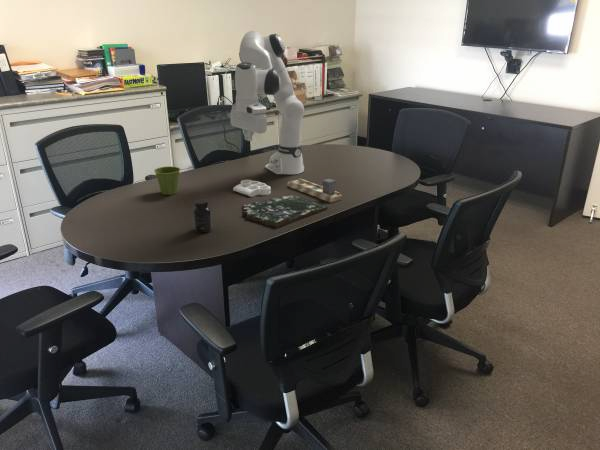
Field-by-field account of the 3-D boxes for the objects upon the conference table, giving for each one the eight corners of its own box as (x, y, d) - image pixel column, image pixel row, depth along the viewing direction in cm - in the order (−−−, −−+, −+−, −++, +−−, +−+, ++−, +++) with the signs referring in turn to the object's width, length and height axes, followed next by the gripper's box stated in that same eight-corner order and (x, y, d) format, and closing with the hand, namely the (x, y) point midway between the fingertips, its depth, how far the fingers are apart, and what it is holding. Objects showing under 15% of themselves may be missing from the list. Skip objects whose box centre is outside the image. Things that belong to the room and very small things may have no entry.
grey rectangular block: (322, 192, 233) (322, 180, 230) (328, 190, 235) (329, 178, 233) (328, 195, 230) (329, 182, 228) (334, 193, 232) (335, 180, 230)
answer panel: (287, 186, 249) (287, 180, 247) (298, 183, 253) (298, 177, 252) (330, 202, 228) (331, 196, 227) (341, 199, 232) (342, 193, 231)
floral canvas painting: (327, 210, 221) (327, 203, 220) (271, 231, 200) (270, 224, 199) (286, 195, 238) (286, 189, 237) (230, 213, 217) (230, 207, 215)
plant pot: (187, 190, 241) (185, 168, 237) (171, 198, 231) (169, 174, 227) (167, 187, 246) (165, 164, 241) (151, 194, 236) (148, 171, 231)
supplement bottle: (195, 226, 202) (193, 198, 197) (212, 226, 202) (210, 198, 198) (193, 234, 195) (191, 204, 191) (211, 233, 196) (209, 204, 191)
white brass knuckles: (228, 191, 243) (251, 184, 253) (254, 200, 232) (277, 192, 242) (228, 184, 241) (251, 177, 251) (254, 193, 230) (277, 185, 240)
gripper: (225, 103, 206) (227, 137, 212) (256, 110, 192) (257, 146, 198) (238, 101, 210) (240, 134, 216) (269, 108, 196) (269, 143, 202)
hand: (248, 140), depth 207 cm, fingers closed
